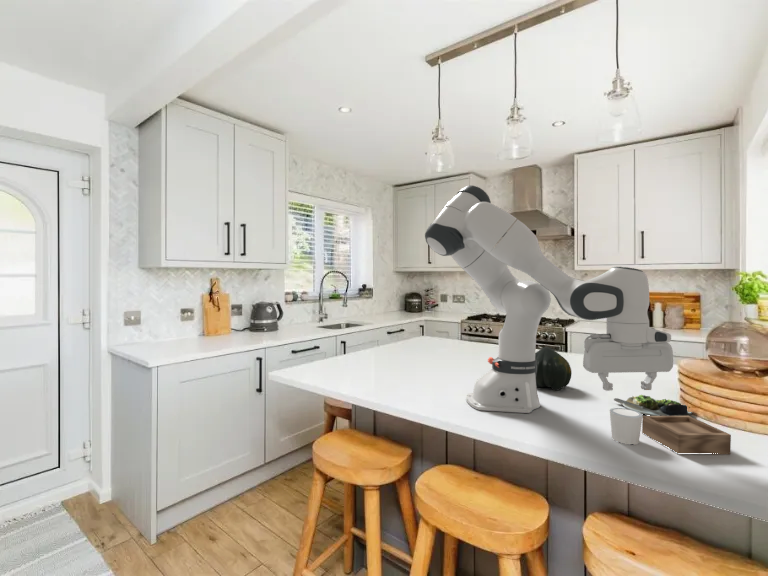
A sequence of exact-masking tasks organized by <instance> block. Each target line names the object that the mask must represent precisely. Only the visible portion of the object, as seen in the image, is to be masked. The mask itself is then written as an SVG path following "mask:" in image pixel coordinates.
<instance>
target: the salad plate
mask: <svg viewBox="0 0 768 576" xmlns="http://www.w3.org/2000/svg"><path fill="white" fill-rule="evenodd" d="M613 401H614V402H617V403H619V404H620V405H622V406H623V408H625V409H630V410H634V411H637V412H639V413H641V414H645V415H650V416H690V417H692V415H693V413H692V412H688V411H687V406H688V405H687V404H684V405H681V404H682V403H681V402H677V400H673V399H666V398H664V399H656V398H652V397H651V396H650V395H645V394H639V395H637V396H636V395H635V396H631V397H628V398H627V399H626V400H624V399H621V398H618V397H617V398H616V397H615V398H613ZM686 405H687V406H686ZM645 415H644V416H645Z"/></svg>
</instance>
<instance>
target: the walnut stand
mask: <svg viewBox="0 0 768 576" xmlns="http://www.w3.org/2000/svg"><path fill="white" fill-rule="evenodd" d="M643 433H644V434H646V435H647V436H646V435H645V436H646V437H648V436H649V437H651V438H652V439H651V438H650V439H651V440H653V439H654V440H656V441H658V442H660V443H662V444H663V445H665V446H667V447H669V448H670V449H672V450H674V451H675V452H677V453H712V454H711V455H731V448H732V447H731V445H732V444H731V443H732V442H731V441H732V434H731V433H727V432H725V431H723V430H721V429H719V428H717V427H715V426H712V425H710V424H708V423H705V422H704V421H701V420H699V419H697V418H694V417H693V416H691V417H690V416H645V415H642V423H641V434H643ZM644 434H643V435H644ZM649 437H648V438H649ZM654 440H653V441H654ZM656 441H655V442H656ZM658 442H657V443H658ZM663 445H662V446H663ZM713 453H714V454H713ZM715 453H716V454H715ZM717 453H718V454H717Z"/></svg>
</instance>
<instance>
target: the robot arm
mask: <svg viewBox="0 0 768 576" xmlns="http://www.w3.org/2000/svg"><path fill="white" fill-rule="evenodd" d="M424 238H425V242H426V244H427V245H428V247H429V248H430V249H431V250H432V251H433V252H435V253H436V254H438V255H440V256H442V257H448V256H450V257H451V258H452V260H454V261H455V262H456V264H457V265H458V266H459V267H460V268H461V269H462V270H463V271H464V272H465V273H466V274H467V275H468V276H470V278H471V279H472V280H474V282H476V284H478V286H479V287H480V288H481V290H482V291H483V292H484V294H485V295H486V296H487V298H488V299H489V302H490V304H491V305H492V306H493V307H494V308H495V309H496V310H498V311H500V312H501V313H504V314H505V315H506V316H505V320H504V323H503V326H502V328H501V330H500V331H499V333H498V356H497V357H496V358H493V357H492V356H490V357H488V359H487V362H488V364H490V365H492V366H491V368H492V369H490V370H489V371H487V372H486V373H485V374H483V375H481V376H480V377H479V378H478V379H476V381H475V382H474V387H473V392H471V393H467V395H466V397H465V398H466V399H465V400H466V402H467V404H468V405H469V406H470V407H472V408H473V409H475V410H478V411H489V412H503V413H505V412H506V413H523V414H524V413H525V414H531V412H532V411H534V410H536V409H538V408H540V407H541V403H540V402H541V401H540V398H539V394H538V387H536V376H537V360H536V359H535V353H536V347H537V346H536V345H537V333H538V329H539V325H540V322H541V319H542V317H543V315H544V313H545V312H547V311H548V309H549V308H550V305H551V299H552V298H551V294H552V295H553V296H554V298H555V300H556V302H557V304H558V306H559V308H560V309H561V310H562V311H563V312H564V313H566V314H567V315H569V316H571V317H574V318H575V317H576V318H578V319H581V320H586V321H597V320H602V319H603V320H604V319H606V333H600V334H599V333H598V334H596V333H592V334H589V336H587V337H586V338H585V339H584V342H583V343H584V344H583V345H584V353H583V360H582V366H583V368H584V370H586V371H587V372H589V373H592V374H597V375H598V378H599V379H600V380H601V382H602V389H603V390H604V391H605V392H608V391H609V392H610V391H611V392H612V391H613V386H614V384H613V383H612V382H610V381H609V380H608V377H609V374H613V373H614V374H615V373H618V374H619V373H645V375H646V377H645V379H644V381H643V380H642V381H640V387H641V390H643V391H652V390H653V389H652V386H653V383H654V382H655V379H656V378H657V377H658V373H669V372H670V371H671V370H672V369H673V367H674V353H673V352H674V351H673V348H672V347H673V346H672V345H671V344H670V342H671V341H672V335H671V333H669V332H665V331H662V330H658V329H656V328H655V327H650V319H649V318H650V317H649V315H648V309H649V306H650V287H649V285H650V284H649V280H648V276H647V274H646V273H645V272H644V271H643V270H642V269H638V268H634V267H628V266H614V267H613V266H612V267H611V268H609V269H608V270H607V271H605V272H604V273H602V274H599V275H597V276H595V277H592V278H588V279H586V280H583V279H579V278H576V277H575V278H574V277H573V276H570V275H569V274H567V272H564V271H563V270H562V269H560V268H559V267H558V266H557V265H555V264H554V263H553V262H552V261H550V260H549V259H548V258H547V256H545V255H544V253H543V251H542V249H541V247H540V243H539V240H538V237H537V236H536V234H535V233H534V232H533V231H532V230H531V229H530V228H529V227H528V226H527V225H526V224H525V223H524V222H522V221H521V220H519V219H518V218H517V217H515V216H514V215H512V214H511V213H510V212H508V211H507V210H504V209H503V208H501V207H499V206H497V205H495V204H493V203H492V201H491V198H490V197H489V195H488V193H487V192H486V191H485V190H484V189H482V188H481V187H480V186H479V187H478V186H477V185H476V186H475V185H467V186H465V187H463V188H461V189H460V190H458V192H457V193H456V195H455V196H453V197H452V198H451V199H450V200H449V201H448V202H447V203H446V204H445V205H444V206H443V207H442V210H441V211H440V212H439V213H438V215H437V216H436V218H435V219H433V222H432V223H430V224H429V226H428V227H427V229H426V231H425V233H424ZM508 266H509V267H511V268H512V269H514V270H518V271H520V272H522V273H525V274H527V275H528V276H530V277H531V278H532V279H533V280H535V281H533V280H529V279H528V280H527V279H519V278H517V277H516V276H514V275H513V273H512V272H511V270H510V269H509V267H508ZM550 293H551V294H550ZM545 314H546V313H545Z"/></svg>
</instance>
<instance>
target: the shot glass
mask: <svg viewBox="0 0 768 576" xmlns="http://www.w3.org/2000/svg"><path fill="white" fill-rule="evenodd" d="M609 418H610V429H611V431H610V432H611V438H613V439H614V440H616V441H618V442H617V443H619V442H621V443H620V444H622V443H625V444H624V445H626V444H637V445H638V444H640V436H641V431H642V420H643V415H642V414H641V413H639V412H637V411H634V410H630V409H627V408H625V407H623V408H622V407H613V408H610V409H609ZM613 439H612V440H613ZM614 440H613V441H614ZM616 441H615V442H616Z"/></svg>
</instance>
